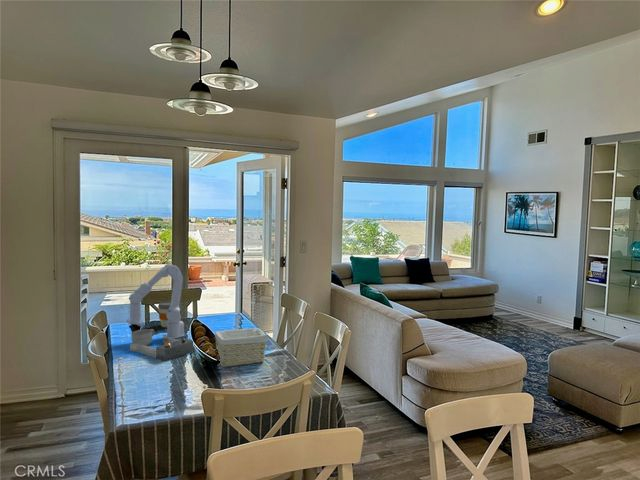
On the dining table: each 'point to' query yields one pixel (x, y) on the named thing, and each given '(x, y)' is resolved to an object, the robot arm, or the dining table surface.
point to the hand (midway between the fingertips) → (135, 337)
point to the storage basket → (240, 346)
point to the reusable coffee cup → (163, 312)
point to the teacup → (143, 336)
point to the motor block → (165, 348)
